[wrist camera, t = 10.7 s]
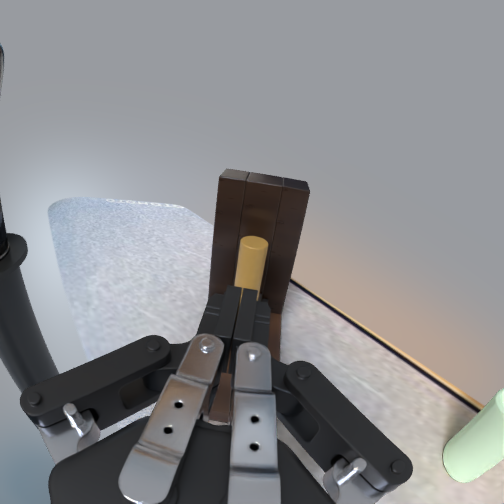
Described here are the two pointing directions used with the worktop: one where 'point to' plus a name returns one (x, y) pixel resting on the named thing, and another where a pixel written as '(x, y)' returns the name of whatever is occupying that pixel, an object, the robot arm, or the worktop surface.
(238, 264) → the bolt
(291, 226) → the latch
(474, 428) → the candle
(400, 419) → the worktop surface
